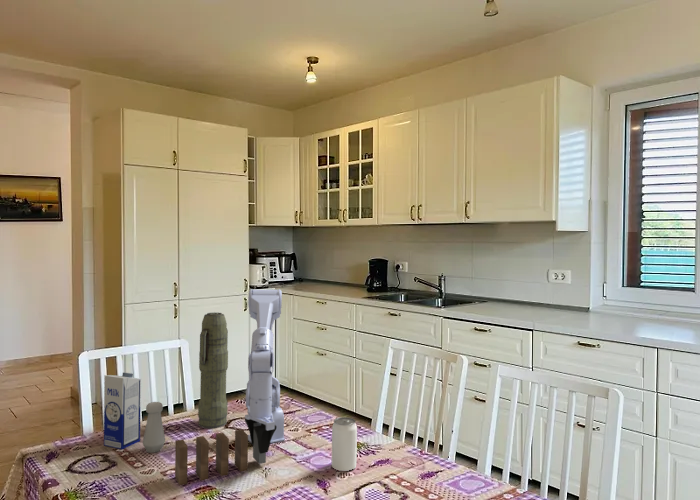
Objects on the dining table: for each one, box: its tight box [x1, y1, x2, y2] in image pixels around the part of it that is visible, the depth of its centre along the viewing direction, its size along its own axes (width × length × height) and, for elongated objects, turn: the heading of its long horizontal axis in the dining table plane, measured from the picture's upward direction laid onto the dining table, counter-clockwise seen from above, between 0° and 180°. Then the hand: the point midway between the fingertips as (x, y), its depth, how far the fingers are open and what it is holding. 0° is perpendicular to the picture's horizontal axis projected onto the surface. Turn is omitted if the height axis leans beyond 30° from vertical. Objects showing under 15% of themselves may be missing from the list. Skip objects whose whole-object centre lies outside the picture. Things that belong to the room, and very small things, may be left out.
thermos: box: [197, 312, 229, 429], centre depth 163 cm, size 9×12×35 cm
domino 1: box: [174, 439, 189, 486], centre depth 124 cm, size 2×5×9 cm, turn 31°
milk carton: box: [103, 372, 142, 450], centre depth 146 cm, size 7×7×20 cm
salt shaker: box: [142, 401, 166, 454], centre depth 141 cm, size 6×6×13 cm
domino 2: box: [195, 435, 210, 482], centre depth 126 cm, size 2×5×9 cm, turn 31°
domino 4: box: [234, 429, 249, 473], centre depth 131 cm, size 2×5×9 cm, turn 30°
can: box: [331, 416, 358, 472], centre depth 133 cm, size 6×6×12 cm
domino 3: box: [215, 432, 230, 477], centre depth 129 cm, size 2×5×9 cm, turn 31°
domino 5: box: [252, 422, 267, 465], centre depth 134 cm, size 2×5×9 cm, turn 30°
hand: (259, 448), depth 134 cm, fingers closed on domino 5, 5 cm apart
